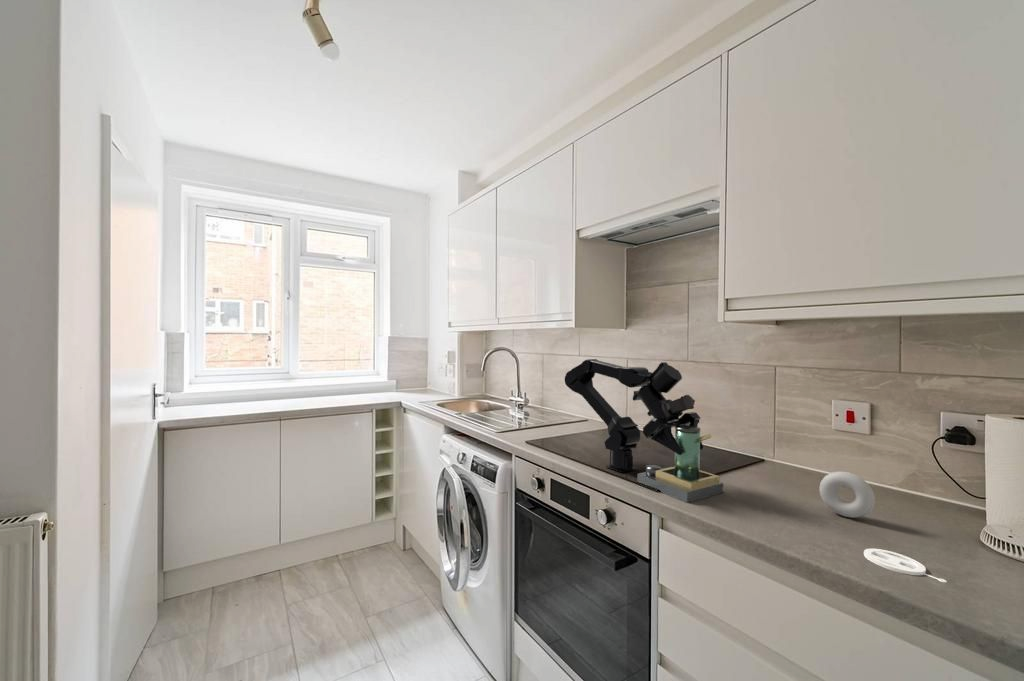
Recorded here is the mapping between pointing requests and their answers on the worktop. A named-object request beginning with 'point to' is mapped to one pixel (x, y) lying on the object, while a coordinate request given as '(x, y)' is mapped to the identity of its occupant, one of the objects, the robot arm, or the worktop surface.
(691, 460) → the spout can
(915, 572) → the pendant
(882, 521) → the worktop surface
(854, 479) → the donut
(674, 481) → the grey tray base
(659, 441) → the robot arm
